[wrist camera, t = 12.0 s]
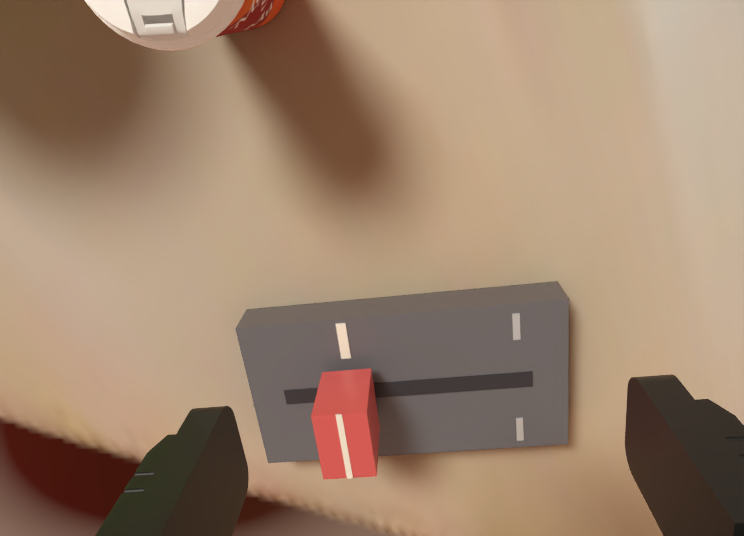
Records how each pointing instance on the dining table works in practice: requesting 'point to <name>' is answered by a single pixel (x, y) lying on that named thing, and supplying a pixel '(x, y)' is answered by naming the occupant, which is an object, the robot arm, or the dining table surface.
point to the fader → (346, 424)
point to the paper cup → (182, 19)
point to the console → (418, 368)
